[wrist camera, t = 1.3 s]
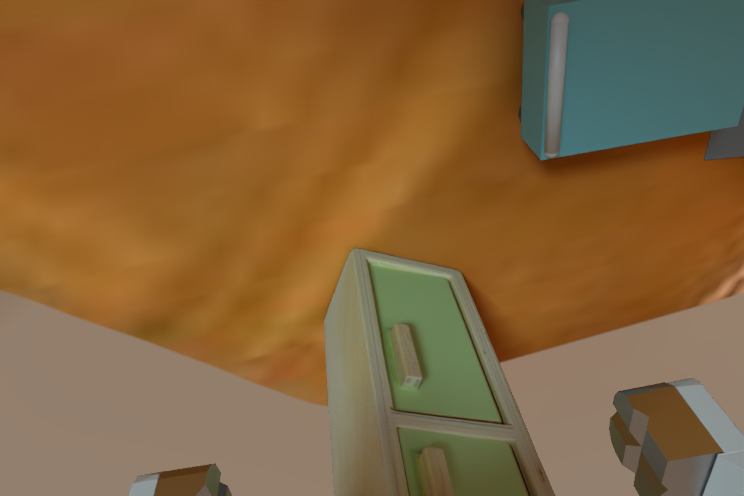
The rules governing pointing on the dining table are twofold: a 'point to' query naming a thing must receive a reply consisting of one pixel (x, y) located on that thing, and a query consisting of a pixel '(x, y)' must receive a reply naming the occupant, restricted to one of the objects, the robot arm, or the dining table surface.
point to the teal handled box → (628, 72)
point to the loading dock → (726, 142)
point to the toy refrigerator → (419, 388)
